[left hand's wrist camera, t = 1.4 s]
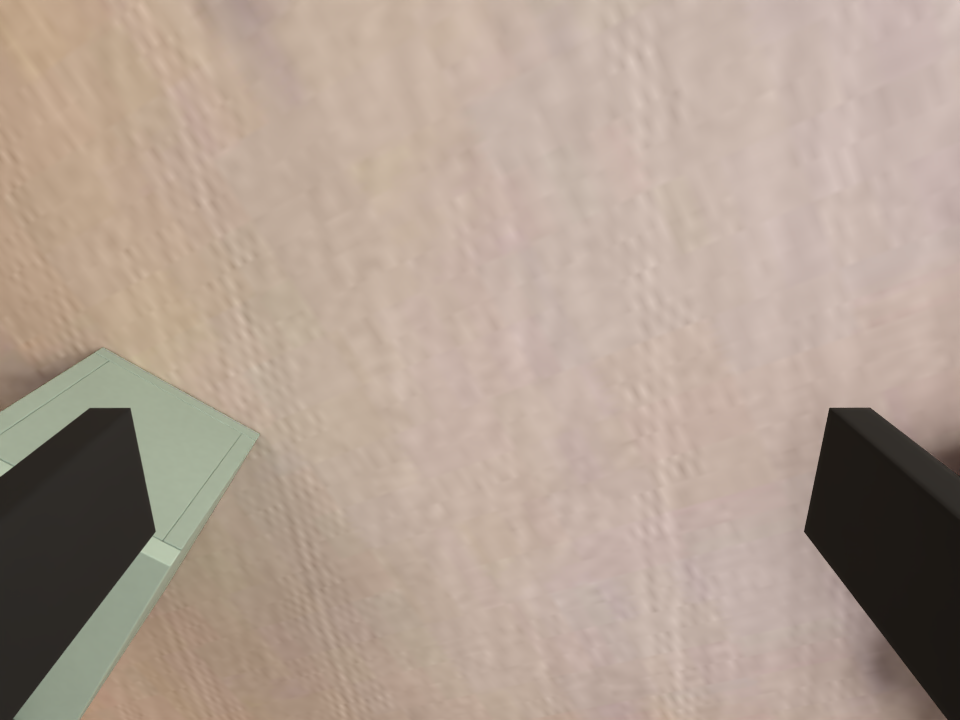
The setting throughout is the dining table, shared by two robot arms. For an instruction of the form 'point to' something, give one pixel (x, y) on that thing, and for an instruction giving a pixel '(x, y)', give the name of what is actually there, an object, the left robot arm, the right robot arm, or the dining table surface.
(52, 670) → the lid
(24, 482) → the left robot arm
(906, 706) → the dining table surface
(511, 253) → the dining table surface
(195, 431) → the chest
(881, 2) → the dining table surface
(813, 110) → the dining table surface
